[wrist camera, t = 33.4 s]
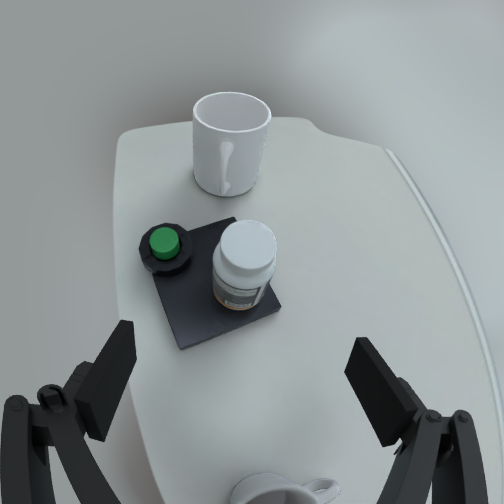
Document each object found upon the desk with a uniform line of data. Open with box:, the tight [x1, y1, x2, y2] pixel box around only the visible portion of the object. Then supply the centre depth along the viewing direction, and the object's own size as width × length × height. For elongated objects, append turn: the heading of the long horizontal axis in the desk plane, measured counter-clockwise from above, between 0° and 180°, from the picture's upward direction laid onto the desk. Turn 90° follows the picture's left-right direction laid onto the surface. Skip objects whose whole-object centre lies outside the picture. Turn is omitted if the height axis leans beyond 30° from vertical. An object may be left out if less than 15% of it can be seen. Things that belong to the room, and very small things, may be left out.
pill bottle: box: [212, 220, 277, 310], centre depth 27 cm, size 6×6×10 cm
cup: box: [230, 473, 340, 504], centre depth 19 cm, size 11×8×8 cm
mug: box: [193, 92, 271, 196], centre depth 36 cm, size 10×12×12 cm
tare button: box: [150, 227, 180, 260], centre depth 31 cm, size 3×3×2 cm
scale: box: [139, 217, 281, 350], centre depth 32 cm, size 13×14×3 cm
